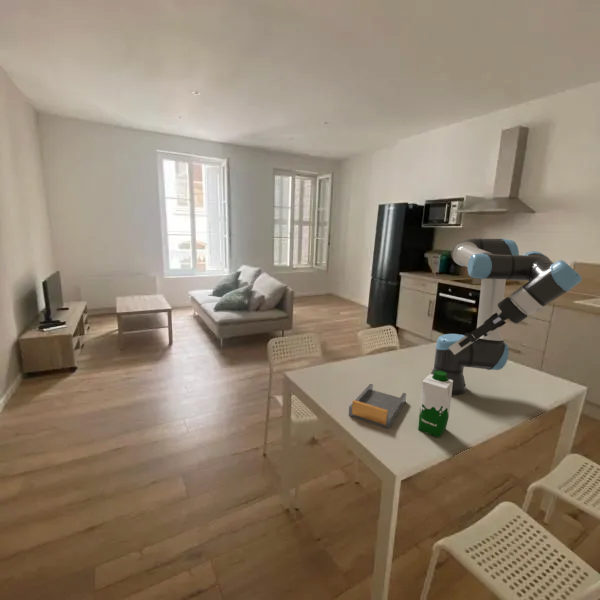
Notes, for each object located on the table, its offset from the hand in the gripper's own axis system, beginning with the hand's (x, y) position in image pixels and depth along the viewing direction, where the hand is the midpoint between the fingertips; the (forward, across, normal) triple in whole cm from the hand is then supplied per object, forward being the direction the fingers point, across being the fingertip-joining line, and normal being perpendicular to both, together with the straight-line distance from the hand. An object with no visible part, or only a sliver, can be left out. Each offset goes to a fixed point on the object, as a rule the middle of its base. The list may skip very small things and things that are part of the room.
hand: (457, 347), depth 103 cm
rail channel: (+38, 0, -2) cm, 39 cm away
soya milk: (+25, 0, -17) cm, 31 cm away
